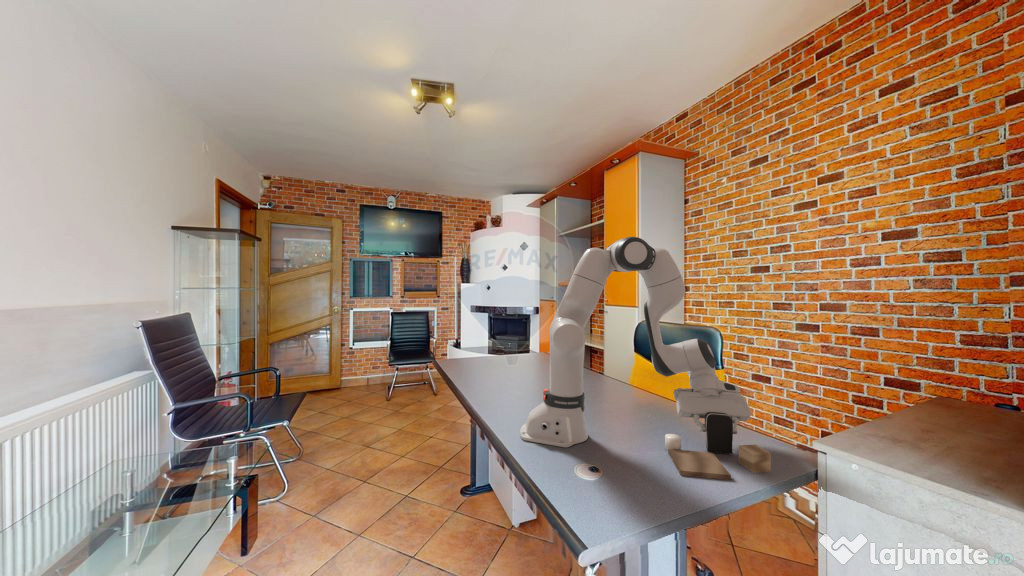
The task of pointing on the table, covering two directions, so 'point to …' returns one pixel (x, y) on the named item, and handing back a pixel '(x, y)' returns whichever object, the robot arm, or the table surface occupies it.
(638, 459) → the table surface
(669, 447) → the plastic capsule
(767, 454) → the oak cube
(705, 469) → the walnut pad
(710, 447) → the battery charger
